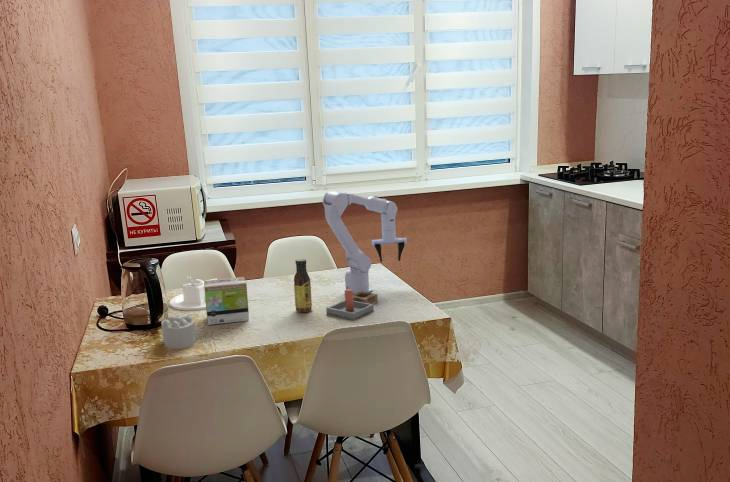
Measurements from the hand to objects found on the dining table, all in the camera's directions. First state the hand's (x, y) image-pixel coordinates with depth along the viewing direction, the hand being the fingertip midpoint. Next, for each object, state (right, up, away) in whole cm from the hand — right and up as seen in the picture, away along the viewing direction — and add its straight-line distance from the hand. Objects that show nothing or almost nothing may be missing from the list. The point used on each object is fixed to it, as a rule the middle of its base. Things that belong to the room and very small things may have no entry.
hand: (390, 260), depth 276 cm
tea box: (-61, -21, -32) cm, 73 cm away
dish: (-78, -17, -8) cm, 80 cm away
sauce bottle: (-34, -18, -26) cm, 47 cm away
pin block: (-11, -16, -20) cm, 28 cm away
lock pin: (-16, -18, -31) cm, 40 cm away
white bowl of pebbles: (-73, -26, -53) cm, 94 cm away
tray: (-16, -18, -31) cm, 40 cm away
